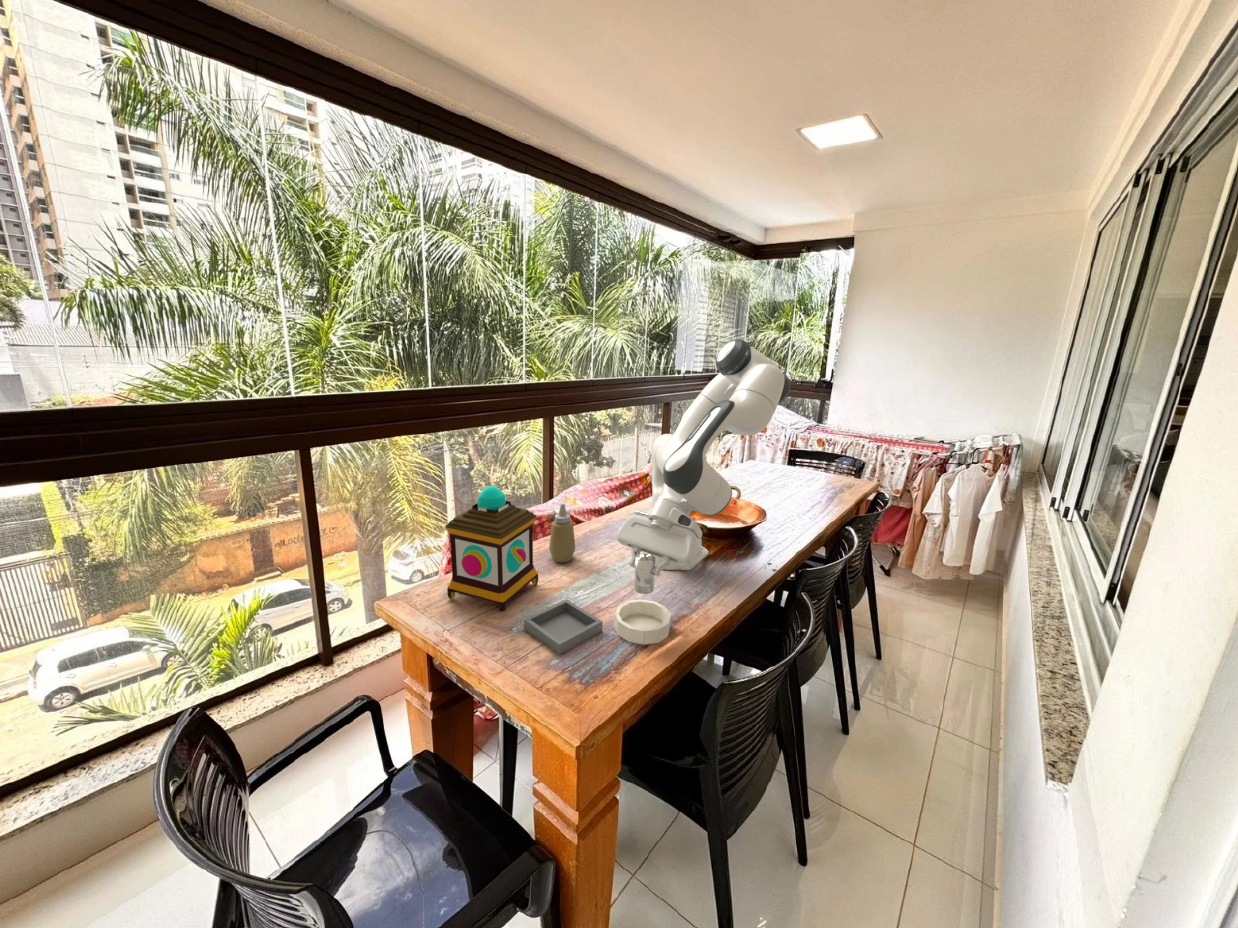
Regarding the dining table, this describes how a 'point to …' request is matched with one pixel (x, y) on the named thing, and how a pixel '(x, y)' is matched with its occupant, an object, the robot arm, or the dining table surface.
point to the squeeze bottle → (562, 537)
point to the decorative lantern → (492, 549)
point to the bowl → (642, 621)
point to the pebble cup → (644, 573)
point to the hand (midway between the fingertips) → (643, 570)
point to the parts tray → (562, 626)
